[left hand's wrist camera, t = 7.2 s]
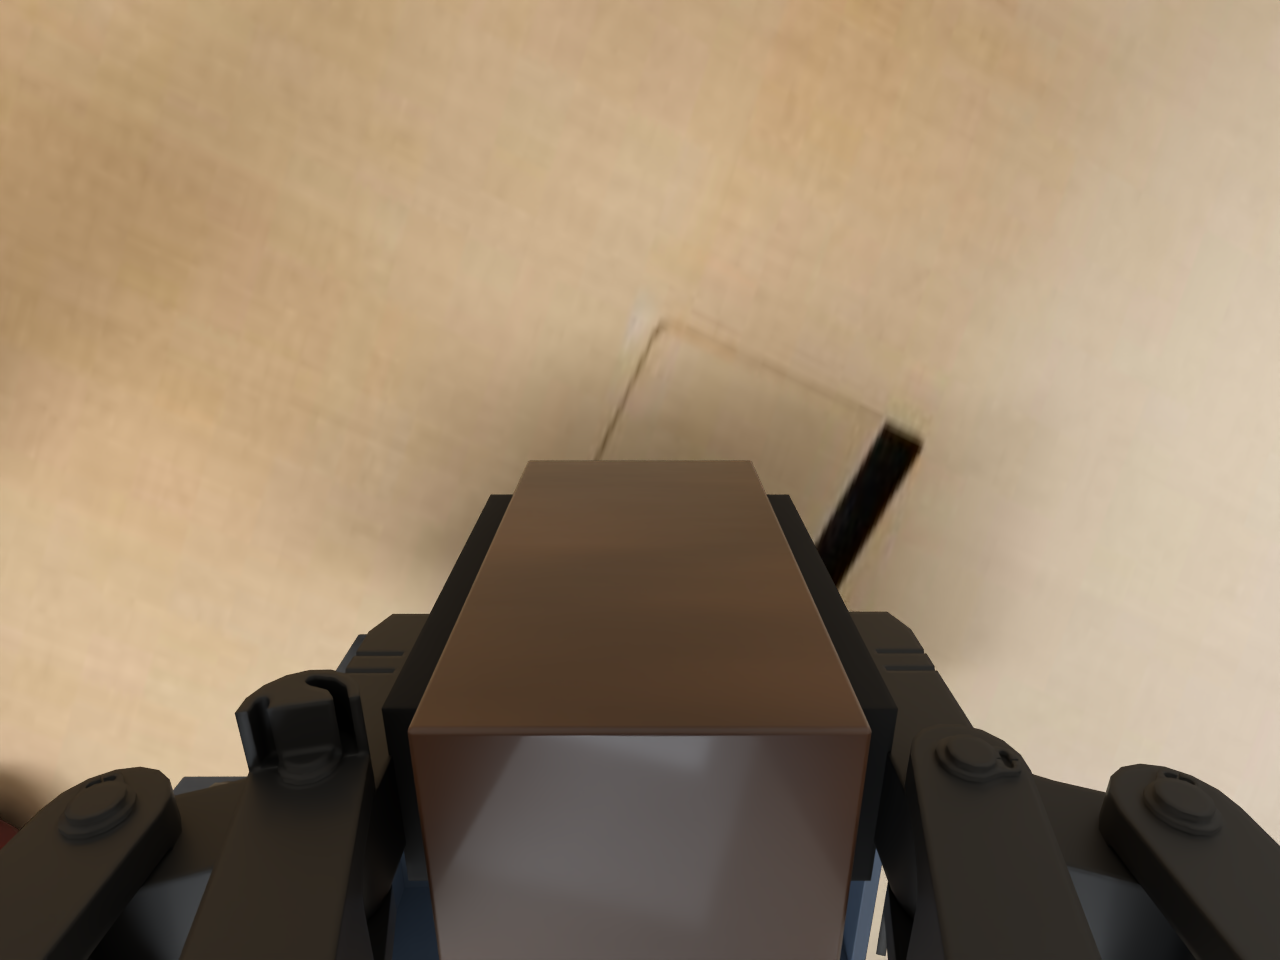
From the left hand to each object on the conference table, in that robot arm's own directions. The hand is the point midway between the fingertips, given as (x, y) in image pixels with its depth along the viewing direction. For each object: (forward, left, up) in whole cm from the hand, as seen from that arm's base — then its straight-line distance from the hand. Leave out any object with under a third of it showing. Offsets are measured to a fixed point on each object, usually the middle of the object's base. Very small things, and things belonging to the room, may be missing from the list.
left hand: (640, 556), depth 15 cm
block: (0, 0, 0) cm, 0 cm away
